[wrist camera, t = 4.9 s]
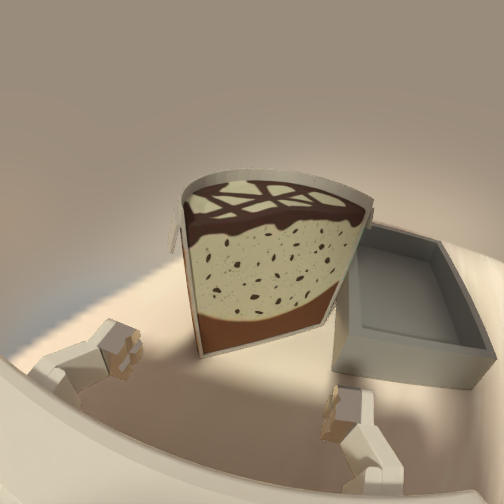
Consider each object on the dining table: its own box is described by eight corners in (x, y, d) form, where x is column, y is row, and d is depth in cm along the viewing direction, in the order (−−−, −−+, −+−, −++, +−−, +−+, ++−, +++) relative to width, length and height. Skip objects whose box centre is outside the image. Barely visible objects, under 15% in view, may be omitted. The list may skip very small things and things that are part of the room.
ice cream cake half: (298, 275, 27) (322, 166, 22) (338, 320, 22) (379, 198, 17) (157, 300, 22) (151, 169, 17) (177, 364, 17) (169, 211, 12)
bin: (429, 267, 31) (440, 241, 29) (471, 390, 16) (497, 358, 15) (337, 244, 33) (345, 216, 31) (331, 371, 18) (349, 334, 16)
